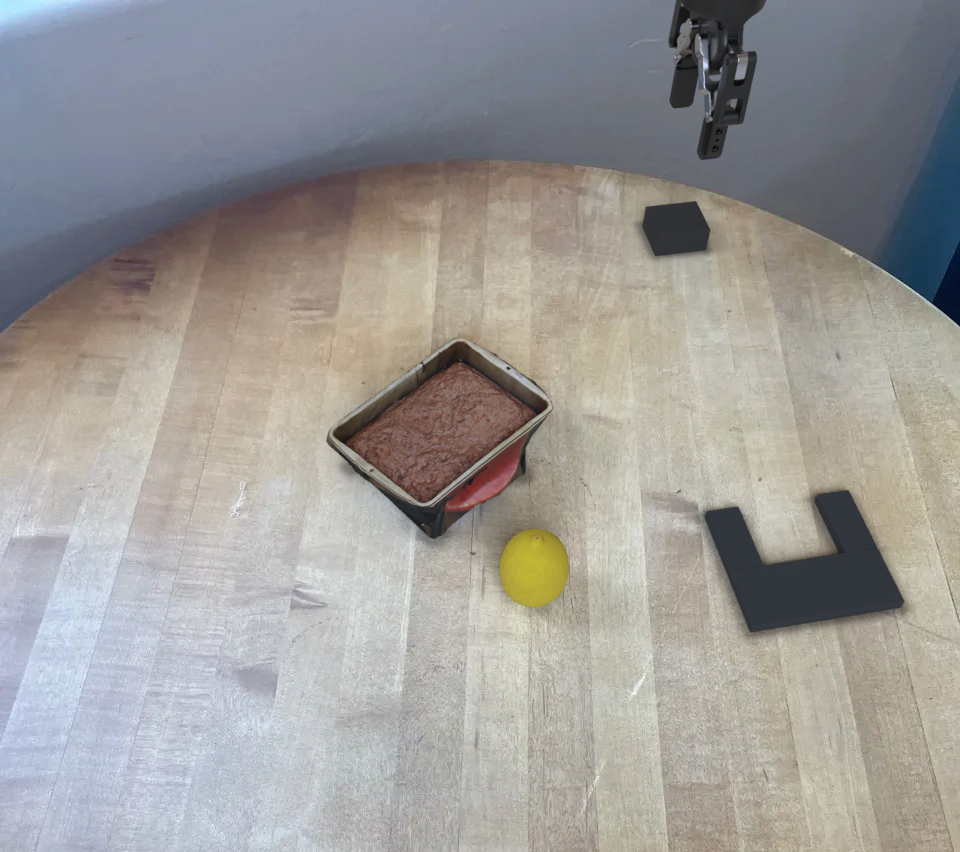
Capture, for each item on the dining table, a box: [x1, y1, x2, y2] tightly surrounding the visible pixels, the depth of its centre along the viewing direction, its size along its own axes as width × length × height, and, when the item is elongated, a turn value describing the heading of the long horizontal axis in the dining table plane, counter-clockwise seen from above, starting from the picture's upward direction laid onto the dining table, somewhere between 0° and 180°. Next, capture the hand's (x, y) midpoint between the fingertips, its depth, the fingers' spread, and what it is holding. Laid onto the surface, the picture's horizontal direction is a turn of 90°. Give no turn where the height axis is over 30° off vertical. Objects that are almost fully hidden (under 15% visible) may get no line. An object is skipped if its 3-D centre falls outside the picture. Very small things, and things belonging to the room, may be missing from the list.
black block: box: [641, 200, 711, 257], centre depth 105 cm, size 6×5×3 cm
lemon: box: [499, 528, 570, 608], centre depth 79 cm, size 6×6×8 cm
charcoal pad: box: [704, 489, 905, 634], centre depth 84 cm, size 13×12×2 cm
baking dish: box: [325, 337, 554, 540], centre depth 86 cm, size 14×18×10 cm
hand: (693, 130), depth 94 cm, fingers open, 8 cm apart
